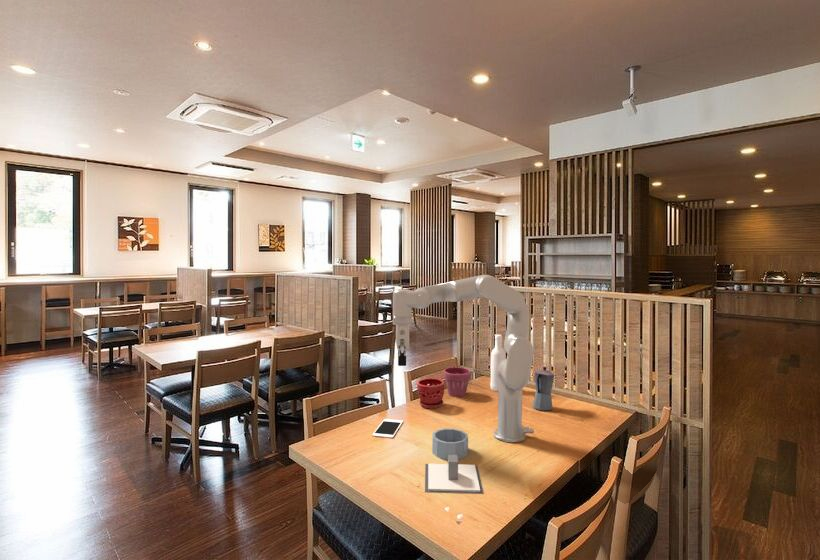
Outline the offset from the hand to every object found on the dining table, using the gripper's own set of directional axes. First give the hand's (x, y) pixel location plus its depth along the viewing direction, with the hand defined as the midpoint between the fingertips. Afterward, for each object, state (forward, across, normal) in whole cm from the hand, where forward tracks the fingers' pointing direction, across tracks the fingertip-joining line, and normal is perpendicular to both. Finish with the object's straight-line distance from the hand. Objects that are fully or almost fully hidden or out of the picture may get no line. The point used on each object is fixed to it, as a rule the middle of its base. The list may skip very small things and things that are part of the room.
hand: (402, 362), depth 174 cm
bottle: (+31, +61, -53) cm, 86 cm away
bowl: (+30, -16, -18) cm, 39 cm away
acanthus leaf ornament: (+31, -53, -16) cm, 64 cm away
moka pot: (+31, +30, -68) cm, 81 cm away
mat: (+30, -35, -16) cm, 49 cm away
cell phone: (+31, +8, +6) cm, 32 cm away
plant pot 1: (+31, +35, -14) cm, 49 cm away
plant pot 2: (+31, +52, -30) cm, 67 cm away
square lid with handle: (+29, -35, -16) cm, 49 cm away
